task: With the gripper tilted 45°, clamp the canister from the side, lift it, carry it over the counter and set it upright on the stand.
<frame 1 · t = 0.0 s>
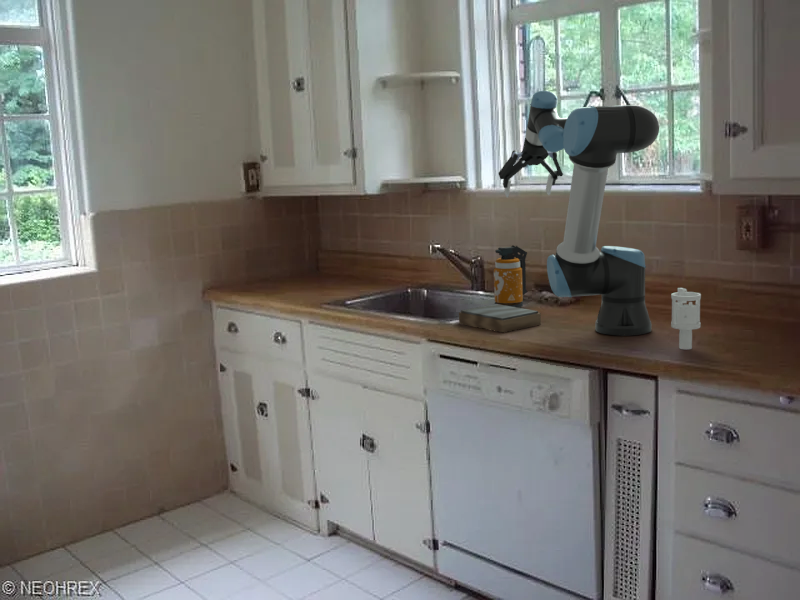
hand: (527, 193, 296), 36 cm above the worktop, tool tilted 35°, fingers open, 13 cm apart
canister: (511, 308, 297), on the worktop
stand: (499, 324, 273), on the worktop
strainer: (685, 348, 234), on the worktop
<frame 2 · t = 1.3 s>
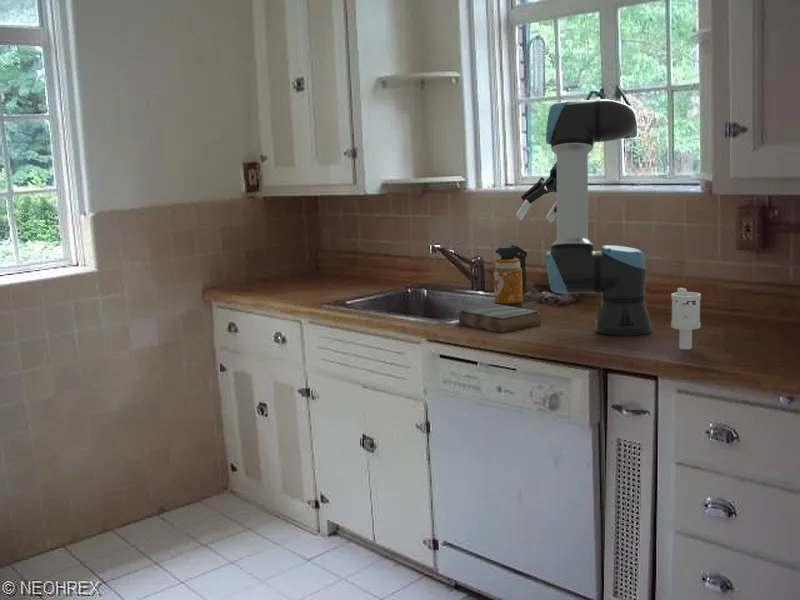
hand: (533, 218, 299), 28 cm above the worktop, tool tilted 45°, fingers open, 13 cm apart
nothing on the worktop moved.
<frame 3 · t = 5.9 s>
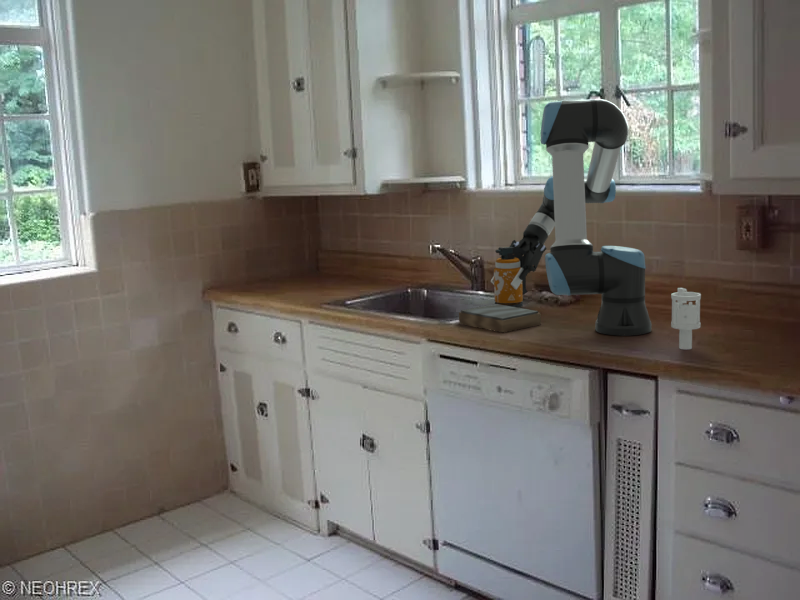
hand: (503, 285, 294), 8 cm above the worktop, tool tilted 45°, fingers closed on canister, 9 cm apart
canister: (511, 308, 297), on the worktop, touching gripper
everything else where it was.
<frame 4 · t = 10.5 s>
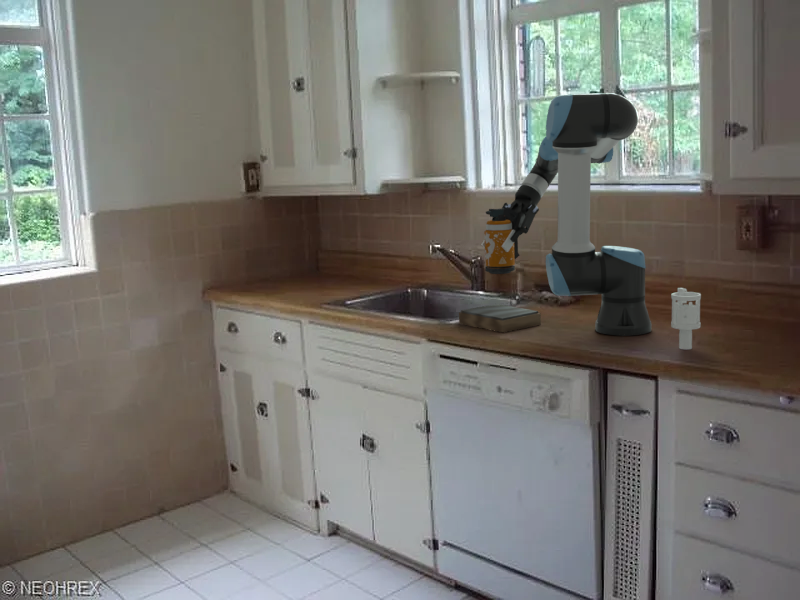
hand: (494, 248, 282), 21 cm above the worktop, tool tilted 45°, fingers closed on canister, 9 cm apart
canister: (503, 272, 285), point 13 cm above the worktop, touching gripper
everything else where it was.
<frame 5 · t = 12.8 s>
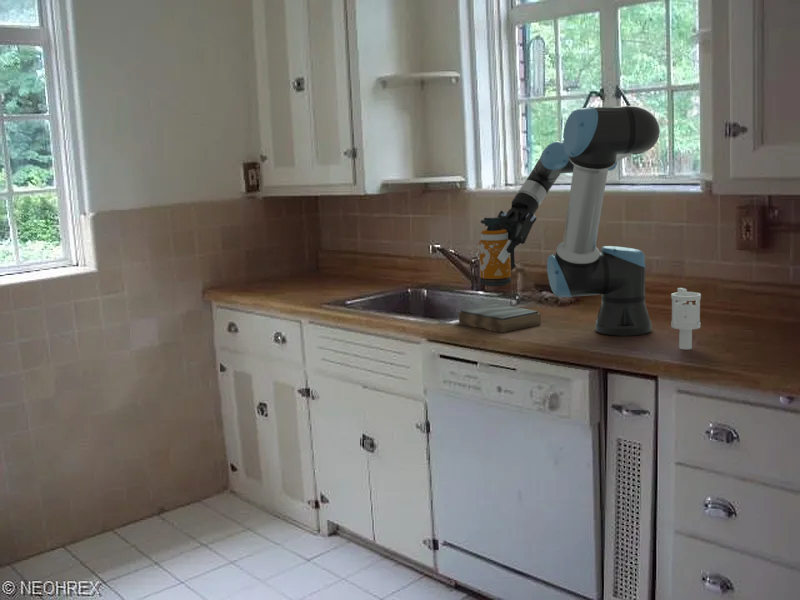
hand: (489, 259, 268), 20 cm above the worktop, tool tilted 45°, fingers closed on canister, 9 cm apart
canister: (498, 284, 271), point 12 cm above the worktop, touching gripper
everything else where it was.
when the fingers open (13 cm above the worktop, at t = 15.0 s): canister drops 1 cm, resting on stand.
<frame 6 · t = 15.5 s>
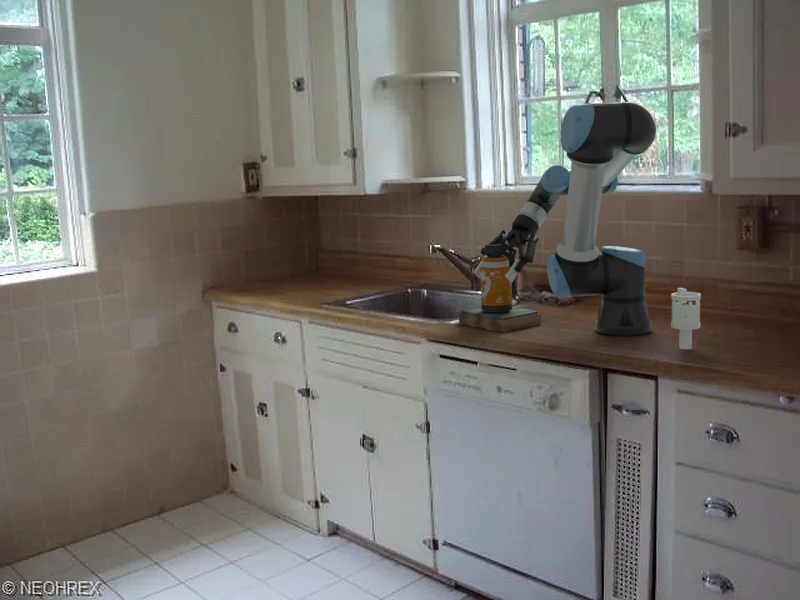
hand: (492, 277, 269), 14 cm above the worktop, tool tilted 45°, fingers open, 13 cm apart
canister: (500, 311, 272), point 4 cm above the worktop, touching stand
everything else where it was.
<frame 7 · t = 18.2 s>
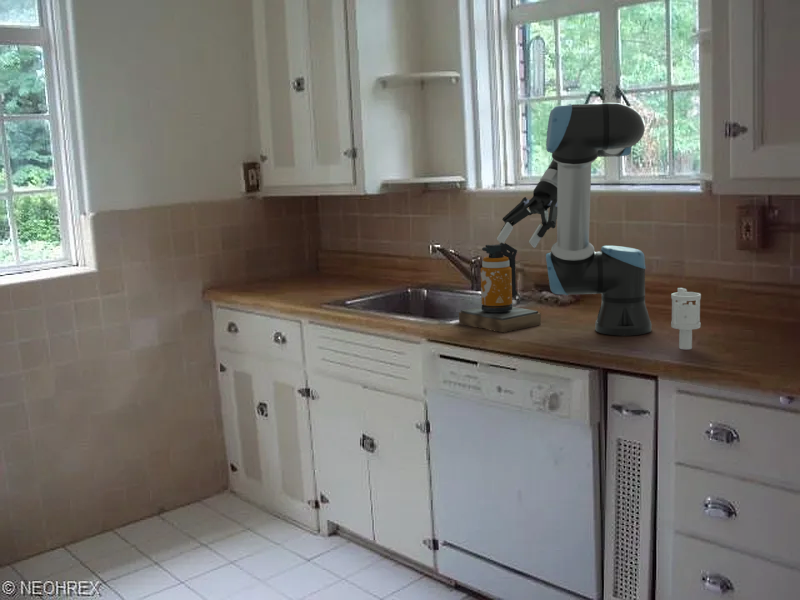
hand: (515, 243, 273), 23 cm above the worktop, tool tilted 45°, fingers open, 13 cm apart
nothing on the worktop moved.
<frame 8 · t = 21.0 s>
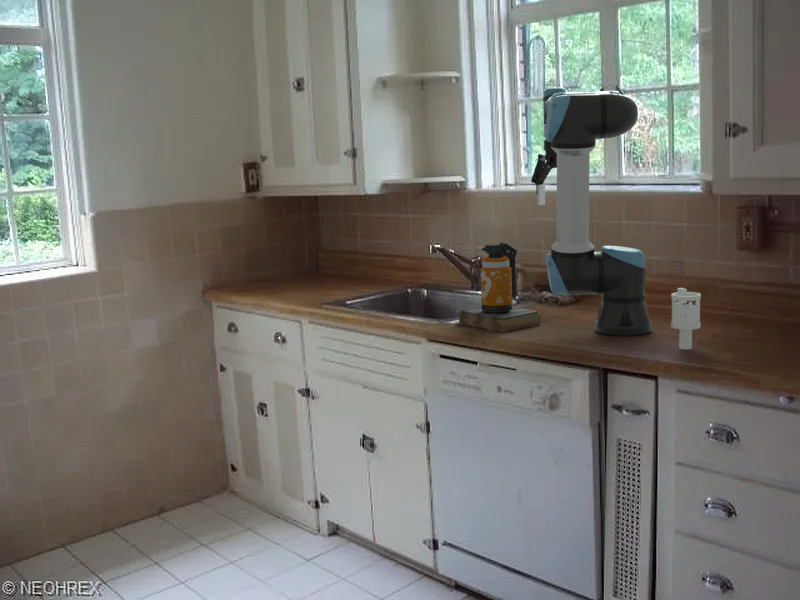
hand: (556, 205, 296), 32 cm above the worktop, tool pointing down, fingers open, 13 cm apart
nothing on the worktop moved.
at the end: canister inside the target area on the stand (0.4 cm from its centre), point 3.8 cm above the stand's base; canister tilted 0°; the gripper is holding nothing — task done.
